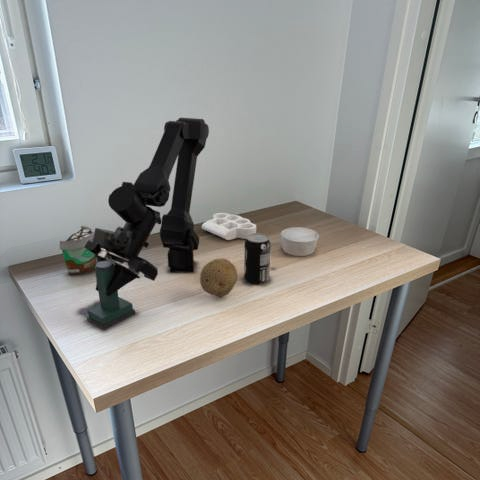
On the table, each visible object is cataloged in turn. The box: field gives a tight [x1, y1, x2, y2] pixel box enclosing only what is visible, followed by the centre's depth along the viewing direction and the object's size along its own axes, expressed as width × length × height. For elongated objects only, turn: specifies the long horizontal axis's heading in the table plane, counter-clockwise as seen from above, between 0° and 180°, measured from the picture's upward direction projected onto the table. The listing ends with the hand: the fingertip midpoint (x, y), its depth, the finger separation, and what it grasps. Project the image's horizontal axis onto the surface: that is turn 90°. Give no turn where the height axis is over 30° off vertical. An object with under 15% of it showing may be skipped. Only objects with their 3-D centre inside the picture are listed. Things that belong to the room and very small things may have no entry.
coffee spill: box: [79, 301, 100, 318], centre depth 110 cm, size 7×6×1 cm
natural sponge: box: [199, 257, 238, 298], centre depth 112 cm, size 9×9×10 cm
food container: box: [59, 225, 97, 276], centre depth 125 cm, size 12×6×10 cm, turn 168°
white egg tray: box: [201, 212, 257, 241], centre depth 151 cm, size 3×18×15 cm
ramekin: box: [280, 226, 320, 257], centre depth 138 cm, size 11×11×5 cm
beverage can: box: [243, 232, 272, 286], centre depth 120 cm, size 7×7×12 cm
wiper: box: [86, 261, 136, 331], centre depth 103 cm, size 9×6×13 cm, turn 142°
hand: (102, 293), depth 102 cm, fingers closed on wiper, 3 cm apart
